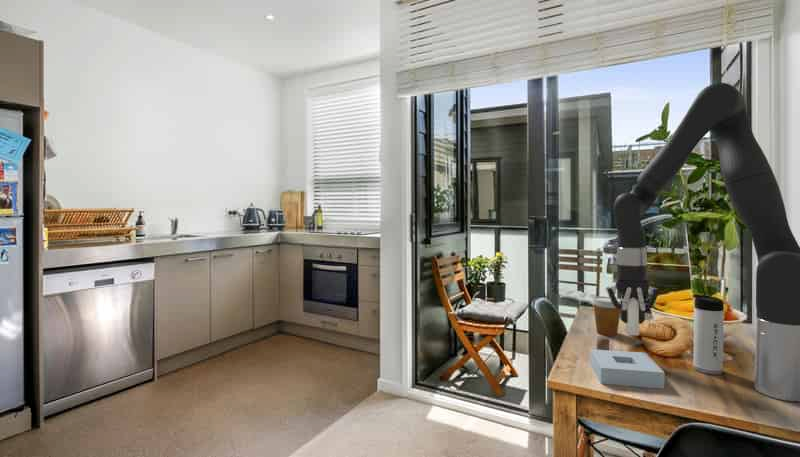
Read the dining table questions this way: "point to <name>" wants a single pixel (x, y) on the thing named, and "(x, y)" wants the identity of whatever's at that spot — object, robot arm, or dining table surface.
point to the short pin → (602, 343)
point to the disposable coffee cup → (606, 316)
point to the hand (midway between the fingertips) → (632, 322)
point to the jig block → (626, 368)
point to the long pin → (632, 317)
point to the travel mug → (708, 334)
